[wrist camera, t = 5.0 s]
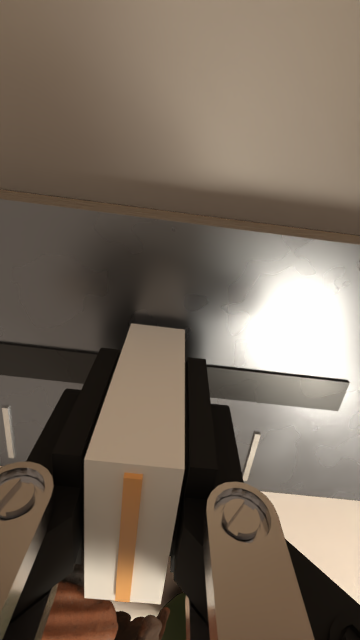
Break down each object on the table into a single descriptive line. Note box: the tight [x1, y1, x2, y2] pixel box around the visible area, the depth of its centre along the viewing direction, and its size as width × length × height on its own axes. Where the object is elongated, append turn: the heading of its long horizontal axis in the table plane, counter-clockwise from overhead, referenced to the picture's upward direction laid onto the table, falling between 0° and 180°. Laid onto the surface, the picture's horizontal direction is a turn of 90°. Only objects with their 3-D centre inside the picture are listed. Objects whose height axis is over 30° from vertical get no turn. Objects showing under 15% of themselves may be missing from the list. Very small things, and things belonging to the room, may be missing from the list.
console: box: [0, 189, 360, 501], centre depth 12 cm, size 22×10×2 cm, turn 83°
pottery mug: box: [41, 557, 170, 640], centre depth 15 cm, size 12×9×8 cm
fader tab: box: [84, 323, 185, 604], centre depth 8 cm, size 2×4×5 cm, turn 173°
